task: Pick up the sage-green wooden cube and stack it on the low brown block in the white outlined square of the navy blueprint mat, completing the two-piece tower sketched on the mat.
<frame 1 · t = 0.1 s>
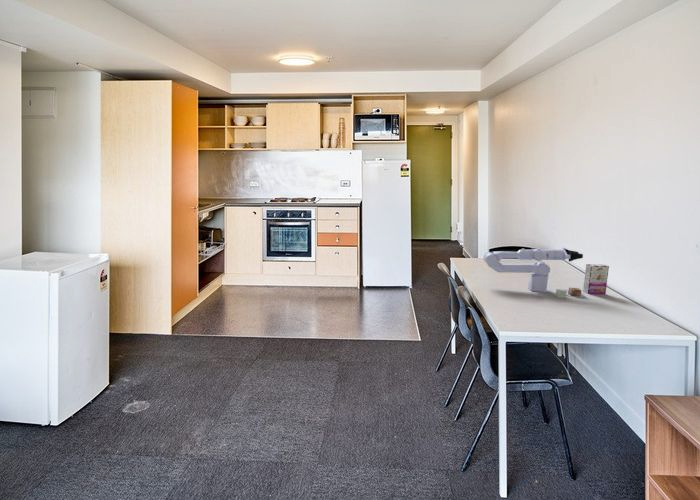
hand: (580, 254, 276), 22 cm above the table, tool horizontal, fingers open, 7 cm apart
candy bar box: (593, 294, 282), on the table
brown block: (574, 295, 273), resting on blueprint mat
blueprint mat: (571, 294, 277), on the table
sage cube: (560, 297, 268), on the table
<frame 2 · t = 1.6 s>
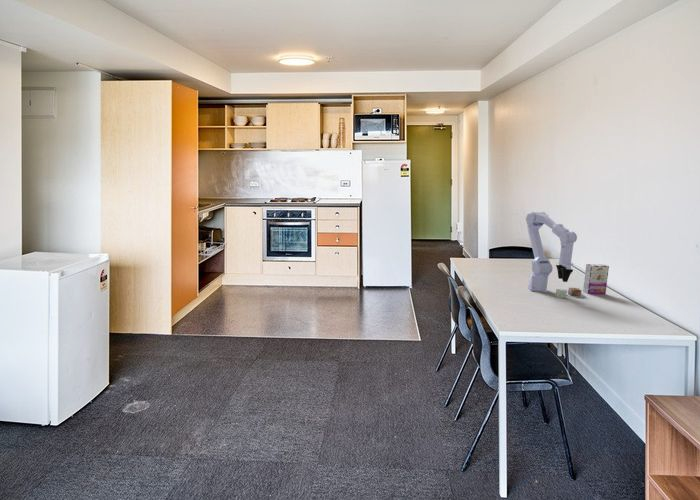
hand: (562, 280, 266), 9 cm above the table, tool pointing down, fingers open, 7 cm apart
nothing on the table moved.
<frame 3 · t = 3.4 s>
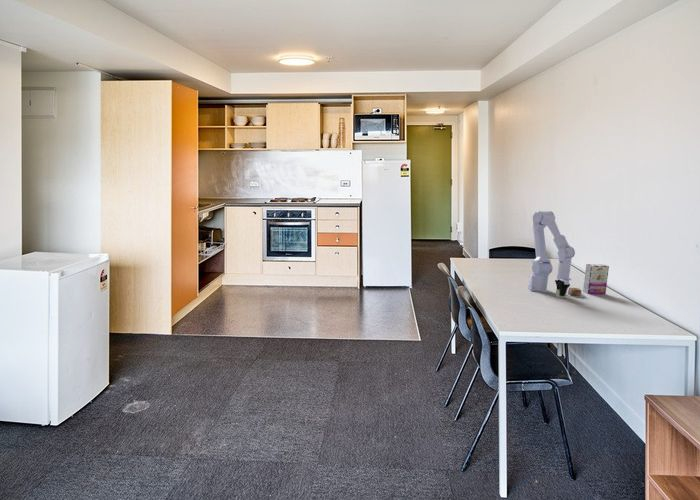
hand: (560, 294, 268), 1 cm above the table, tool pointing down, fingers closed on sage cube, 4 cm apart
sage cube: (560, 297, 268), on the table, touching gripper
everything else where it was.
when the fingers open (6 cm above the table, at t = 7.0 s): sage cube stays where it is, resting on brown block.
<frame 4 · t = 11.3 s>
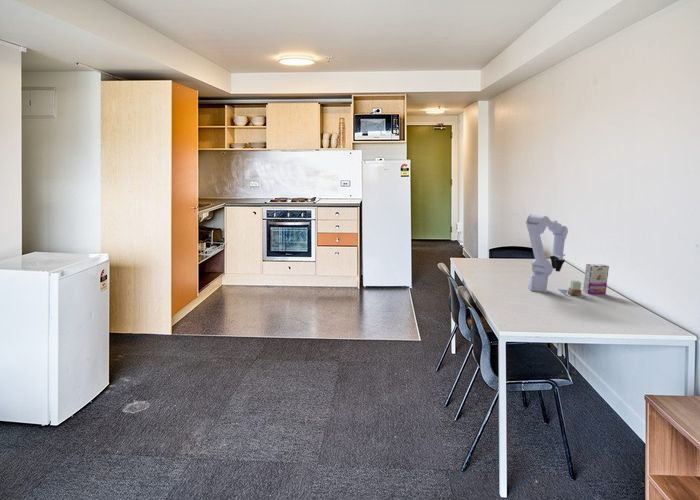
hand: (555, 269, 289), 10 cm above the table, tool pointing down, fingers open, 7 cm apart
brown block: (574, 295, 273), resting on blueprint mat, touching sage cube
sage cube: (575, 288, 273), point 4 cm above the table, touching brown block
everything else where it was.
at the end: sage cube 0.0 cm off-centre on the brown block, point 3.5 cm above the brown block's base; sage cube tilted 0°; brown block 0.0 cm from the target spot, resting on blueprint mat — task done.
